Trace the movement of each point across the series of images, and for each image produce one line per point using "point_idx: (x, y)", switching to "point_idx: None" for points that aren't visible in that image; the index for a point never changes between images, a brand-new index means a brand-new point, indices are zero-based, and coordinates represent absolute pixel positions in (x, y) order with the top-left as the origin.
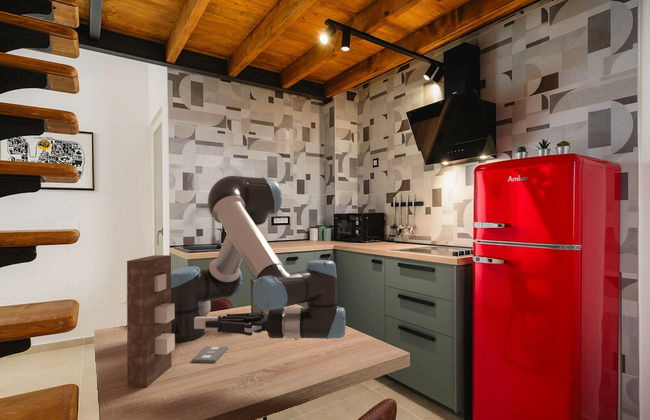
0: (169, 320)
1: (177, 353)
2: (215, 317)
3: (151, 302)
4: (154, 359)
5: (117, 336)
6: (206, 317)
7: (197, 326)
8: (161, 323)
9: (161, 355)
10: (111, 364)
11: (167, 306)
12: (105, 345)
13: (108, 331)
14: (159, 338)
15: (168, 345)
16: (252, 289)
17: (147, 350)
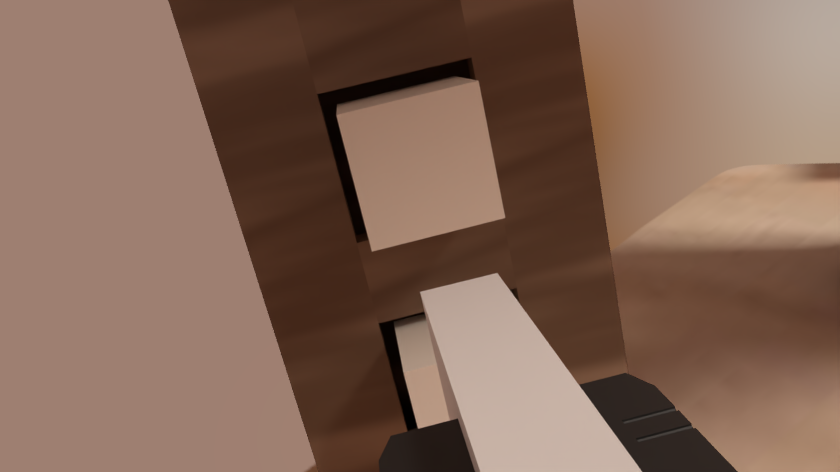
0: (416, 230)
1: (813, 419)
2: (539, 449)
3: (264, 64)
4: None
5: (736, 204)
6: (492, 352)
7: (450, 415)
8: (457, 232)
9: None
10: None
11: (375, 104)
12: (653, 232)
13: (744, 176)
14: (403, 342)
15: (441, 421)
16: None
17: (305, 399)
